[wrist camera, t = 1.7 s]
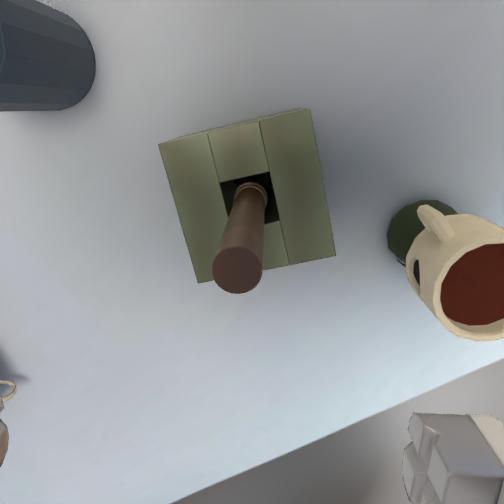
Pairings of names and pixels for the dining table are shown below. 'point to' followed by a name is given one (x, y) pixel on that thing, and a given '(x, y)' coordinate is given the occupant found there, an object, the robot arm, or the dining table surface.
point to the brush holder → (247, 164)
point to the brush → (243, 238)
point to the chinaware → (11, 392)
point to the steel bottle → (42, 58)
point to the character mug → (453, 266)
